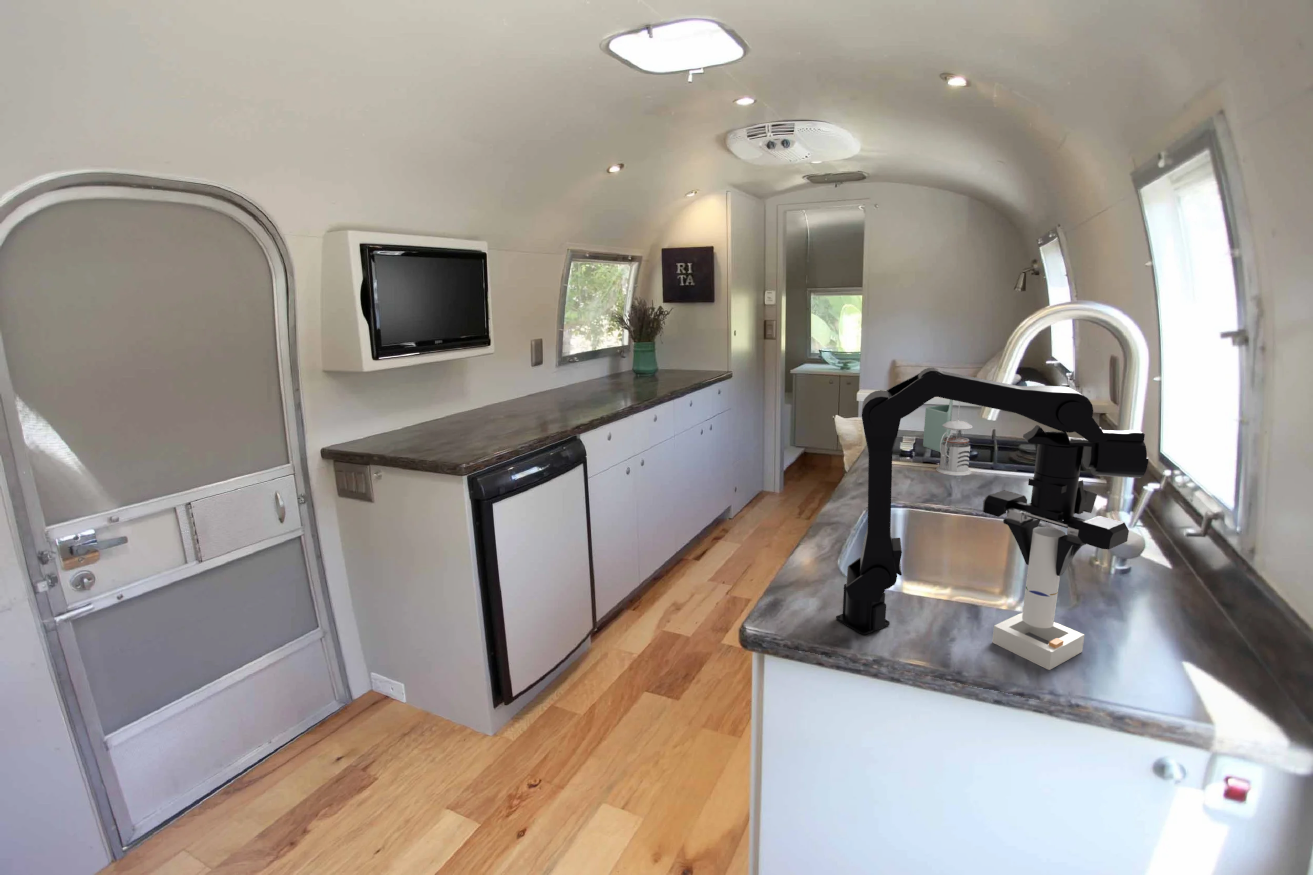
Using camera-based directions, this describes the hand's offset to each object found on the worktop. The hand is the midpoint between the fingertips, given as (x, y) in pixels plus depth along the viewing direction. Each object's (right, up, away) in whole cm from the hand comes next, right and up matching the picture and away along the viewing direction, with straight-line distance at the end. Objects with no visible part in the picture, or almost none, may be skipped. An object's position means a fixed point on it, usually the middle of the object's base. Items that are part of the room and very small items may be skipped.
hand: (1044, 569), depth 100 cm
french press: (+28, +10, +94) cm, 99 cm away
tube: (0, -9, +2) cm, 9 cm away
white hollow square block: (0, -13, +2) cm, 13 cm away
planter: (+35, +17, +121) cm, 127 cm away
